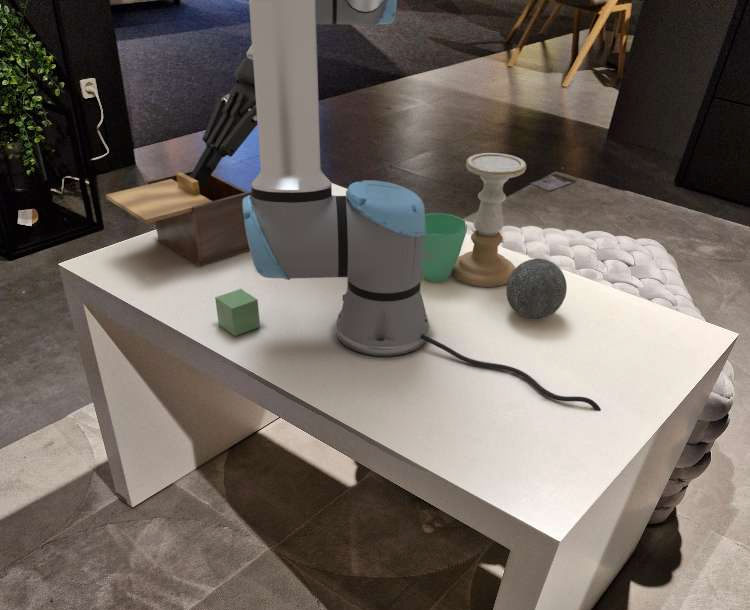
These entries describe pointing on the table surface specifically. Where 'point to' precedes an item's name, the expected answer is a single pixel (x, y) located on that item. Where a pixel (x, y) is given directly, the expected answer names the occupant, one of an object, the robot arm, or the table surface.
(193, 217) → the walnut box
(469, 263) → the candle holder
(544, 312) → the decorative ball
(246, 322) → the block
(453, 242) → the mug
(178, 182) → the sliding lid
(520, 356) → the table surface
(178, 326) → the table surface
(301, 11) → the robot arm
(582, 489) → the table surface
